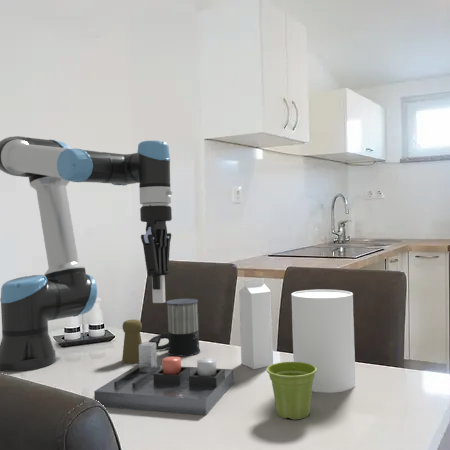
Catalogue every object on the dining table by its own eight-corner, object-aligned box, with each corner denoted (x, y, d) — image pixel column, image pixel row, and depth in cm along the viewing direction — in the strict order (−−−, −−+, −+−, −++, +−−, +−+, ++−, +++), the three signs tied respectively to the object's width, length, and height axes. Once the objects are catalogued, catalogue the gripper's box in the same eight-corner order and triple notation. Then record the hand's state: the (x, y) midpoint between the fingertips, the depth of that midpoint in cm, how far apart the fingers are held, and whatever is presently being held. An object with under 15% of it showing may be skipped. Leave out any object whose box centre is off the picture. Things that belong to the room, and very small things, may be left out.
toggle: (139, 371, 115) (138, 345, 115) (145, 367, 118) (144, 342, 118) (151, 372, 114) (150, 345, 114) (156, 368, 117) (156, 342, 117)
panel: (94, 405, 103) (93, 381, 103) (138, 376, 122) (138, 355, 122) (206, 415, 96) (205, 388, 96) (234, 382, 115) (233, 360, 115)
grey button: (194, 377, 105) (194, 363, 105) (201, 371, 109) (200, 357, 109) (213, 378, 104) (212, 363, 104) (218, 372, 108) (218, 358, 108)
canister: (288, 389, 109) (285, 297, 109) (300, 371, 122) (298, 289, 122) (352, 394, 105) (349, 298, 105) (358, 375, 117) (355, 290, 117)
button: (159, 375, 108) (159, 361, 108) (167, 369, 111) (166, 356, 111) (177, 376, 106) (176, 362, 106) (184, 370, 110) (183, 357, 110)
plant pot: (284, 427, 89) (282, 378, 89) (259, 410, 98) (258, 365, 98) (328, 418, 93) (326, 371, 93) (300, 402, 102) (299, 359, 102)
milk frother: (198, 356, 139) (197, 302, 139) (142, 358, 139) (140, 304, 139) (202, 344, 153) (200, 295, 153) (150, 345, 154) (149, 296, 154)
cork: (139, 364, 133) (138, 322, 133) (118, 363, 135) (117, 322, 135) (147, 357, 139) (146, 318, 139) (127, 357, 140) (125, 317, 140)
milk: (273, 365, 128) (271, 279, 128) (253, 369, 125) (251, 280, 125) (260, 360, 133) (258, 276, 133) (240, 363, 130) (238, 278, 130)
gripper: (158, 203, 115) (162, 307, 115) (180, 205, 128) (183, 298, 128) (129, 205, 117) (132, 306, 117) (152, 206, 130) (156, 298, 130)
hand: (159, 302), depth 123 cm, fingers closed
